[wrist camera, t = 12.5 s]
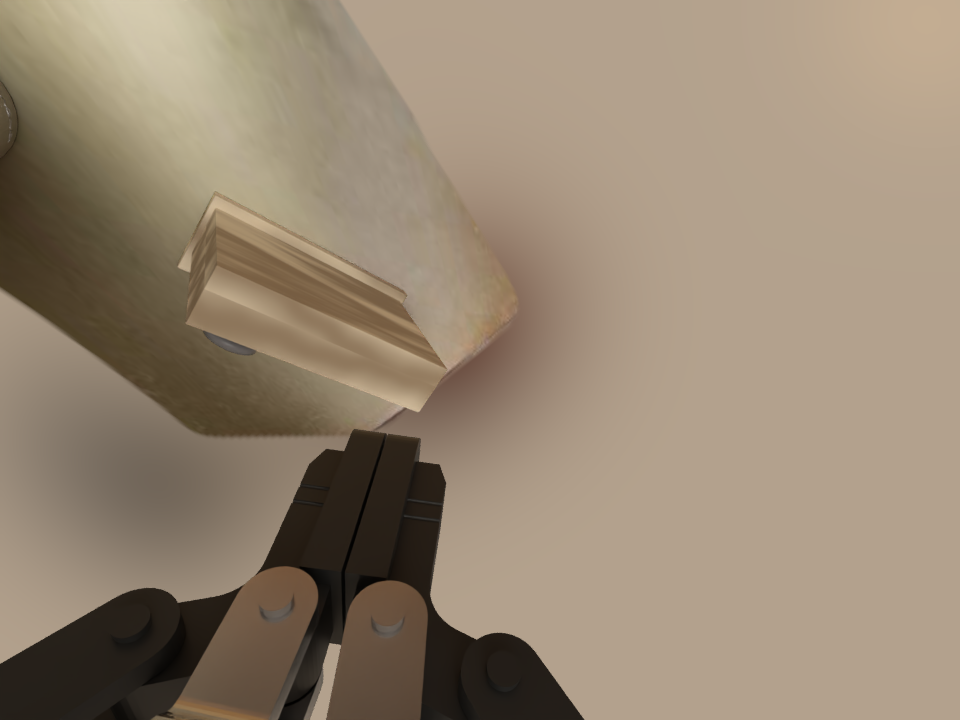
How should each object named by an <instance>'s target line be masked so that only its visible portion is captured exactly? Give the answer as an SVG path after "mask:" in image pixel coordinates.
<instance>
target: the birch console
mask: <svg viewBox="0 0 960 720" xmlns="http://www.w3.org/2000/svg"><path fill="white" fill-rule="evenodd" d="M178 268H180V269H182V270H185V271H187V272H189V273H190V281H189V292H188V303H187V313H186V324H188V325H191V326H193V327H196V328H198V329H201V330H204V331H206V332H209V333H212V334H214V335H217V336H219V337H222V338H225V339H227V340H230V341H233V342H235V343H238V344H240V345H243V346H246V347H248V348H251V349H254V350H256V351H259V352H261V353H264V354H267V355H269V356H272V357H275V358H277V359H280V360H282V361H285V362H288V363H290V364H293V365H296V366H298V367H301V368H303V369H306V370H309V371H311V372H314V373H317V374H319V375H322V376H324V377H327V378H330V379H332V380H335V381H338V382H340V383H343V384H345V385H348V386H351V387H353V388H356V389H359V390H361V391H364V392H366V393H369V394H372V395H374V396H377V397H380V398H382V399H385V400H387V401H390V402H393V403H395V404H398V405H401V406H403V407H406V408H408V409H411V410H414V411H416V412H419V411H420V410H421V408H422V407H423V405H424V404H425V402H426V401H427V399H428V398H429V396H430V395H431V393H432V392H433V390H434V389H435V387H436V386H437V384H438V383H439V381H440V380H441V378H442V377H443V375H444V374H445V373H446V371H447V368H446V367H445V365H444V364H443V362H442V361H441V360H440V358H439V357H438V355H437V354H436V353H435V351H434V350H433V348H432V347H431V345H430V344H429V343H428V341H427V340H426V338H425V337H424V335H423V334H422V333H421V331H420V330H419V328H418V327H417V325H416V324H415V323H414V321H413V320H412V318H411V317H410V315H409V314H408V313H407V311H406V310H405V308H404V307H403V306H402V303H403V302H404V300H405V298H406V297H407V294H406V293H405V292H404V291H403V290H401V289H399V288H397V287H396V286H394V285H392V284H390V283H388V282H386V281H384V280H382V279H380V278H378V277H377V276H375V275H373V274H371V273H369V272H367V271H365V270H363V269H361V268H359V267H358V266H356V265H354V264H352V263H350V262H348V261H346V260H344V259H342V258H340V257H339V256H337V255H335V254H333V253H331V252H329V251H327V250H325V249H323V248H321V247H320V246H318V245H316V244H314V243H312V242H310V241H308V240H306V239H304V238H302V237H301V236H299V235H297V234H295V233H293V232H291V231H289V230H287V229H285V228H283V227H282V226H280V225H278V224H276V223H274V222H272V221H270V220H268V219H266V218H265V217H263V216H261V215H259V214H257V213H255V212H253V211H251V210H249V209H247V208H246V207H244V206H242V205H240V204H238V203H236V202H234V201H232V200H230V199H228V198H227V197H225V196H223V195H221V194H219V193H217V192H215V193H214V195H213V197H212V198H211V200H210V202H209V204H208V206H207V208H206V210H205V212H204V214H203V216H202V218H201V220H200V222H199V223H198V225H197V227H196V229H195V231H194V233H193V235H192V237H191V239H190V241H189V243H188V245H187V247H186V248H185V250H184V252H183V254H182V256H181V258H180V260H179V262H178Z"/></svg>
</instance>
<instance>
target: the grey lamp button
mask: <svg viewBox="0 0 960 720" xmlns="http://www.w3.org/2000/svg"><path fill="white" fill-rule="evenodd" d="M203 332H204V334H205V335H206V337H207V338H208V339H209V340H211V341H212V342H213V343H215V344H216V345H218V346H219V347H221V348H223V349H225V350H227V351H230V352H233V353H236V354H240V355H253V354H254V353H255V352H256V350H254V349H251V348H248V347H246V346H243V345H240V344H238V343H235V342H233V341H230V340H227V339H225V338H222V337H219V336H217V335H214V334H212V333H209V332H206V331H204V330H203Z"/></svg>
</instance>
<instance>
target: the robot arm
mask: <svg viewBox="0 0 960 720" xmlns="http://www.w3.org/2000/svg"><path fill="white" fill-rule="evenodd" d="M17 127H18V121H17V114H16V109H15V107H14V104H13V101H12V99H11V97H10V95H9V93H8V92H7V90H6V88H5V87H4V85H3V84H2V83H1V82H0V158H1V157H2V156H4V155H5V154H6V153H7V151H8V150H9V149H10V148H11V147H12V145H13V142H14V140H15V138H16V135H17ZM420 442H421V439H420V438H415V437H407V436H400V435H393V434H388V436H387V434H386V433H379V432H372V431H365V430H358V429H354V430H353V431H352V433H351V436H350V438H349V441H348V443H347V446H346V448H345V451H338V450H330V449H326V450H325V451H324V452H322V453H321V454H320V455H319V456H318V457H317V458H316V459H315V460H314V461H312V462H311V463H310V464H309V466H308V468H307V470H306V473H305V475H304V478H303V479H302V481H301V485H300V487H299V488H298V490H297V492H296V495H295V497H294V499H293V503H291V506H290V508H289V510H288V512H287V514H286V517H285V519H284V521H283V523H282V525H281V527H280V530H279V532H278V534H277V536H276V538H275V541H274V543H273V545H272V547H271V550H270V552H269V554H268V556H267V558H266V560H265V562H264V564H263V566H262V567H261V569H260V570H259V571H258V573H257V574H256V575H255V576H254V577H252V578H251V579H250V580H249V581H248V582H247V583H246V584H244V585H243V586H241V587H240V588H238V589H236V590H234V591H232V592H229V593H226V594H224V595H220V596H216V597H210V598H205V599H199V600H193V601H187V602H181V603H177V601H176V599H175V598H174V597H173V596H172V595H171V594H169V593H168V592H166V591H164V590H161V589H156V588H143V589H137V590H133V591H130V592H127V593H124V594H122V595H120V596H118V597H116V598H114V599H112V600H110V601H109V602H107V603H105V604H104V605H102V606H100V607H98V608H97V609H95V610H93V611H91V612H90V613H88V614H86V615H84V616H83V617H81V618H79V619H77V620H76V621H74V622H72V623H70V624H69V625H67V626H65V627H64V628H62V629H60V630H58V631H57V632H55V633H53V634H51V635H50V636H48V637H46V638H44V639H43V640H41V641H39V642H38V643H36V644H34V645H32V646H30V647H29V648H27V649H25V650H24V651H22V652H20V653H18V654H17V655H15V656H13V657H12V658H10V659H8V660H6V661H4V662H3V663H1V664H0V720H310V717H311V715H312V712H313V709H314V706H315V704H316V701H317V698H318V695H319V693H320V690H321V687H322V684H323V663H324V659H325V656H326V653H327V649H328V646H329V643H333V644H340V645H341V649H340V654H339V659H338V663H337V668H336V674H335V679H334V684H333V689H332V693H331V698H330V703H329V708H328V713H327V718H326V720H584V719H583V717H582V716H581V715H580V713H579V712H578V710H577V709H576V708H575V706H574V705H573V703H572V702H571V701H570V699H569V698H568V697H567V696H566V694H565V692H564V691H563V690H562V688H561V687H560V686H559V684H558V683H557V682H556V680H555V679H554V677H553V676H552V675H551V673H550V672H549V670H548V669H547V668H546V666H545V665H544V663H543V662H542V661H541V659H540V658H539V657H538V655H537V654H536V652H535V651H534V650H533V649H532V648H531V647H530V646H529V645H528V644H527V643H526V642H524V641H523V640H521V639H520V638H518V637H515V636H513V635H510V634H506V633H492V634H488V635H485V636H483V637H481V638H479V639H477V640H476V639H474V638H472V637H470V636H468V635H466V634H464V633H462V632H460V631H458V630H456V629H454V628H453V627H451V626H450V625H448V624H447V623H446V622H445V621H443V619H442V618H441V617H440V616H439V615H438V613H437V612H436V610H435V608H434V606H433V604H432V601H431V597H430V591H431V585H432V579H433V572H434V565H435V559H436V553H437V546H438V540H439V534H440V527H441V519H442V510H443V503H444V496H445V488H446V482H445V479H444V476H443V473H442V470H441V467H440V465H439V464H431V463H424V462H419V455H420Z"/></svg>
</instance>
